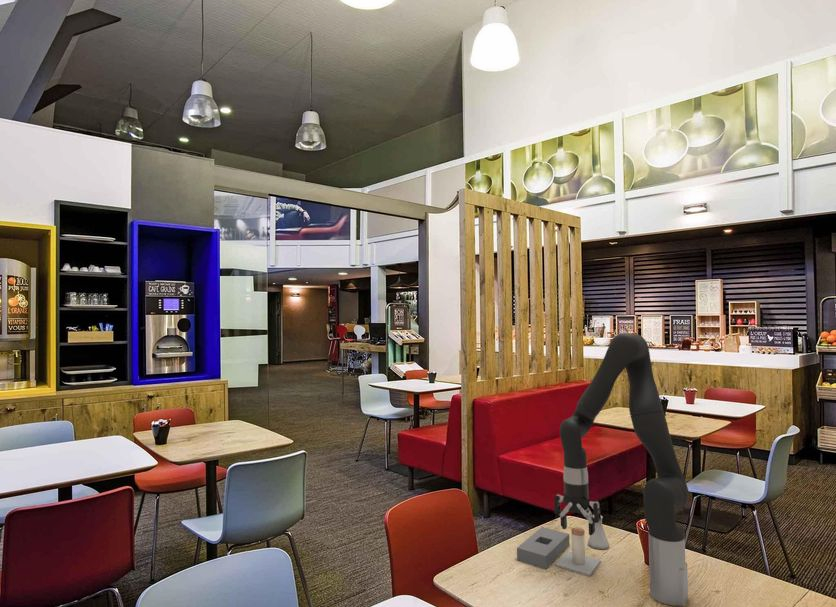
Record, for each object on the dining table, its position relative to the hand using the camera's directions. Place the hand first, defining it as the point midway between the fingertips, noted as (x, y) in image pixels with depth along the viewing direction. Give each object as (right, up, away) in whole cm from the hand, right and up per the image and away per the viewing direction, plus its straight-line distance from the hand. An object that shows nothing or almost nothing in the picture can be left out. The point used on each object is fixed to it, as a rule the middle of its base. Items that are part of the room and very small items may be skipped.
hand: (577, 531), depth 162 cm
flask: (+11, -11, +13) cm, 20 cm away
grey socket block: (-9, -11, +8) cm, 16 cm away
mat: (0, -11, 0) cm, 10 cm away
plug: (0, -10, 0) cm, 10 cm away
